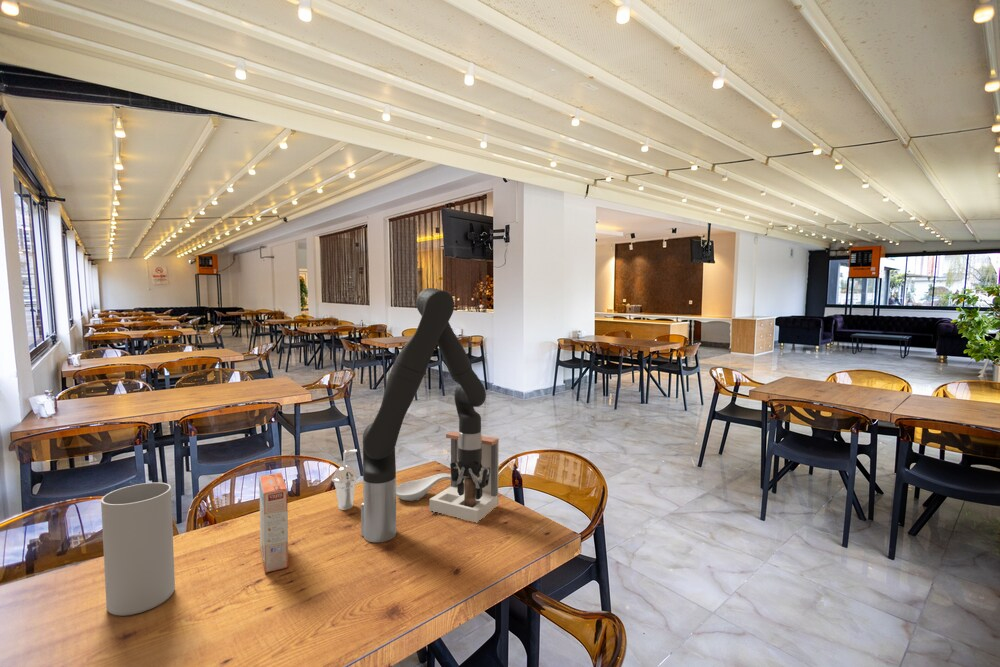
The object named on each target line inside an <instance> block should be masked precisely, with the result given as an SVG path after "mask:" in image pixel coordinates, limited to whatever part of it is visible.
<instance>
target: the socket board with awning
mask: <svg viewBox="0 0 1000 667" xmlns="http://www.w3.org/2000/svg"><path fill="white" fill-rule="evenodd" d="M481 436H482V460H481V464H482V467H485V468H488V467H489V468H490V476H489V482H488V485H487V486H485V487H484V488H482V497H481V498H480V499H479V500H477V499H476V506H474V507H473V508H472V507H468V506H464V494H463V495H461V496H460V495H459V493H458V492H457V489H458V488H457V482H455V481H452V476H451V480H450V486H449V487H447V488H445V489H444V490H442V491H441V492H439V493H437V494H435V495H434V496H432V497H431V498H429V500H428V501H429V503H428V504H429V506H428V507H429V508H428V509H429V512H431V511H433V512H432V513H435V512H438V513H437V514H439V513H442V514H441V515H443V514H446V515H450V516H454V517H457V518H456V519H458V518H461V519H460V520H462V519H465V520H464V521H466V520H469V521H473V522H476V523H475V524H478V523H479V522H480V521H479V520H481V519H482V518H483V517H484V516H485V515H486V514H488V513H489V512H490V511H491V510H492V509H493V508H494V507H496V506H497V505H498V506H499V458H500V457H499V455H500V454H499V451H500V450H499V446H500V445H499V444H500V442H499V440H500V439H499V438H498V437H493V436H492V437H491V436H486V435H481ZM458 437H459V431H456V430H453V431H451V432H447V433H446V434H445V438H446V439H450V463H452V462H454V461H457V462H459V459H458ZM460 471H461V470H460V469H459V467H458V472H459V474H460ZM480 474H481V477H482V476H483V475H482V471H480ZM476 478H477V476H476ZM481 479H482V478H481ZM463 483H464V489H465V479H464V481H463ZM476 488H477V487H476ZM489 514H490V513H489ZM489 514H488V515H489ZM446 515H445V516H446ZM450 516H449V517H450ZM454 517H453V518H454ZM484 518H485V517H484ZM484 518H483V519H484ZM483 519H482V520H483ZM482 520H481V521H482ZM469 521H468V522H469ZM478 521H479V522H478ZM473 522H472V523H473ZM477 522H478V523H477Z"/></svg>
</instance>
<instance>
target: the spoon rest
mask: <svg viewBox="0 0 1000 667" xmlns="http://www.w3.org/2000/svg"><path fill="white" fill-rule="evenodd" d="M446 479H447V480H450V481H451V473H446V472H445V473H443V472H442V473H438V474H433V475H430V476H427V477H424V478H419V479H415V480H409V481H405V482H403V483H400V484H399V485H396V497H397V498H399V499H400V500H403V501H407V502H408V501H409V502H415V501H414V500H416V501H419V500H421V499H422V498H423V497H425V496H426V494H427V493H428V492H429V491H430V489H431V488H433V486H435V485H436V484H437V483H438V482H439V481H442V480H446ZM420 498H421V499H420ZM418 499H419V500H418Z"/></svg>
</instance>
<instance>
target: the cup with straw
mask: <svg viewBox="0 0 1000 667" xmlns="http://www.w3.org/2000/svg"><path fill="white" fill-rule="evenodd" d="M358 452H359V449H348V450H344V451H343V453H342V456H343V465H342V466H339V467H338V468H336V471H335V472H334V474H333V475H332V476H331V481H332V482H333V484H334V487H335V493H336V500H337V505H338V506H337V507H338V509H339V510H342V511H346V510H350V509H353V507H354V498H355V497H354V496H355V490H356V488H355V487H356V483H357V480H358V479H359V478H360V477H359V474H358V473H357V472H356V470H355V469H354V468H353V467H352V466H349V465H347V463H346V462H347V461H346V457H347V456H346V455H347V453H358Z"/></svg>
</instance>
